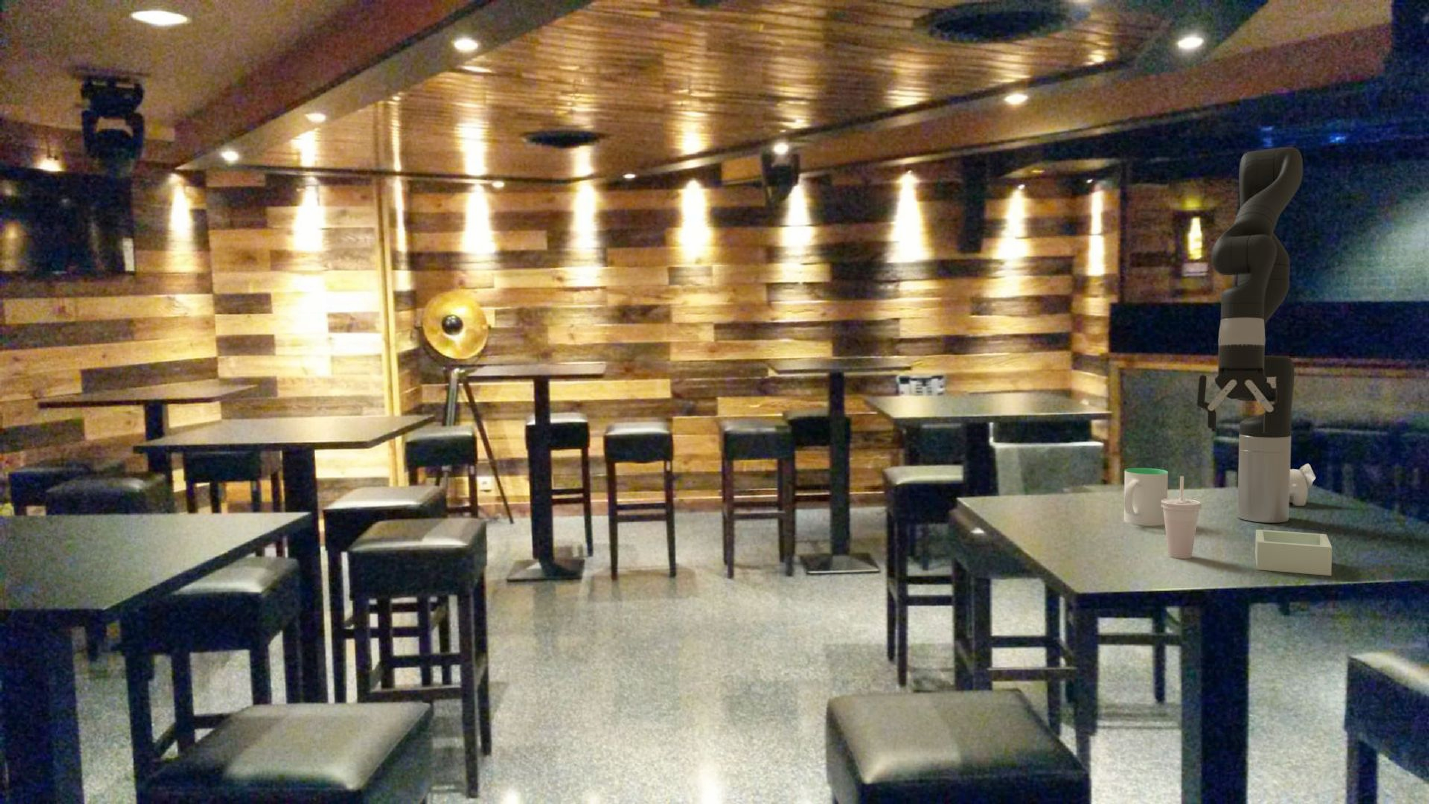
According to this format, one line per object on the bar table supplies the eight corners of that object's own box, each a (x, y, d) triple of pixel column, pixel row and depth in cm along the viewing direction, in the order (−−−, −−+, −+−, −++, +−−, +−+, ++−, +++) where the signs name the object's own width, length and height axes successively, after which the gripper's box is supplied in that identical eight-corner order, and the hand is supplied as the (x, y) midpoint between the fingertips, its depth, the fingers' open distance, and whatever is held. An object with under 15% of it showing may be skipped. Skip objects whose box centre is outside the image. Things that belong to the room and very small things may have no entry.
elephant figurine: (1296, 498, 228) (1297, 459, 227) (1320, 508, 216) (1321, 467, 215) (1251, 497, 229) (1252, 459, 228) (1272, 507, 217) (1273, 467, 216)
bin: (1255, 555, 176) (1255, 529, 176) (1325, 560, 171) (1326, 534, 171) (1257, 569, 167) (1257, 542, 166) (1331, 575, 162) (1332, 547, 162)
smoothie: (1202, 554, 178) (1204, 475, 176) (1197, 562, 172) (1199, 481, 171) (1162, 550, 181) (1164, 473, 180) (1157, 557, 176) (1158, 478, 174)
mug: (1149, 530, 197) (1150, 478, 196) (1109, 525, 203) (1109, 474, 202) (1173, 521, 206) (1174, 470, 205) (1133, 516, 211) (1134, 466, 210)
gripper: (1284, 345, 186) (1282, 433, 186) (1198, 345, 192) (1196, 431, 192) (1287, 342, 179) (1285, 433, 179) (1198, 342, 185) (1196, 430, 185)
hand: (1239, 432), depth 185 cm, fingers open, 8 cm apart
